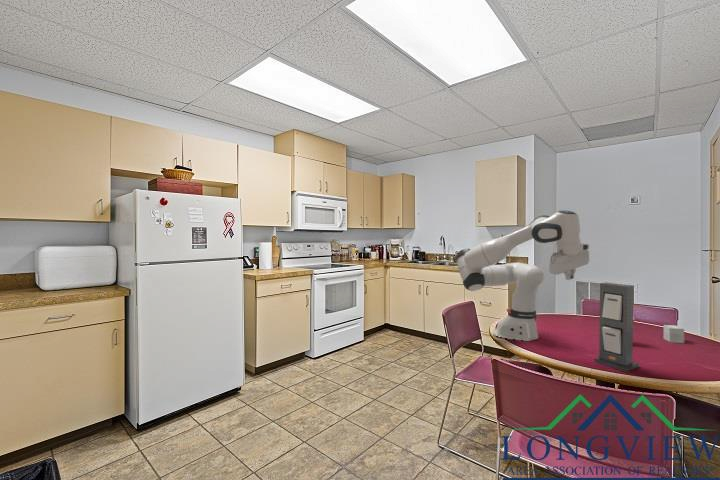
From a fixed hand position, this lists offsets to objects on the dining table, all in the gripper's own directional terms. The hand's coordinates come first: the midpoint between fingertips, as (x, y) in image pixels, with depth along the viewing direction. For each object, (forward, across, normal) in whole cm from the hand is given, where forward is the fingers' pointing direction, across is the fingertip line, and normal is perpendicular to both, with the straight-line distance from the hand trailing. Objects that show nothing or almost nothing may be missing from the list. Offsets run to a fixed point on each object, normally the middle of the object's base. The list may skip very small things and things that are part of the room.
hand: (569, 278), depth 147 cm
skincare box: (+49, +63, -7) cm, 80 cm away
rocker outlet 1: (+30, +5, -14) cm, 34 cm away
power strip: (+36, +6, -14) cm, 40 cm away
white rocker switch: (+16, +6, -13) cm, 21 cm away
